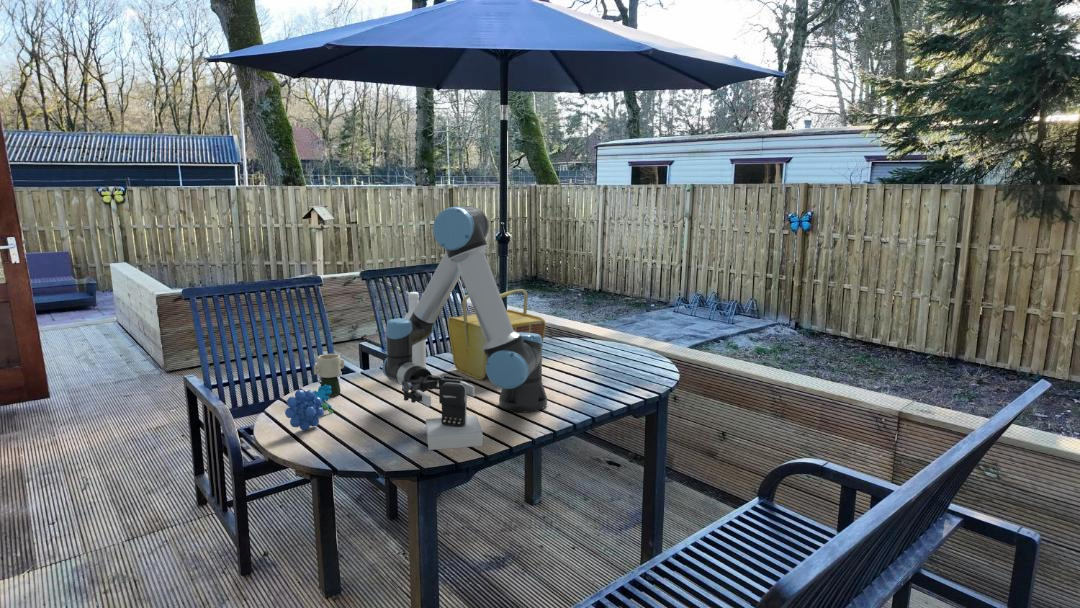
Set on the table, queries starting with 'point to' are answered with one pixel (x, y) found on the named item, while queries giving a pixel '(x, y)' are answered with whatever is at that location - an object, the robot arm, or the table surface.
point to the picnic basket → (471, 339)
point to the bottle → (420, 347)
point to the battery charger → (453, 404)
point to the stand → (453, 434)
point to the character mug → (329, 371)
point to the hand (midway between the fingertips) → (452, 396)
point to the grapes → (304, 409)
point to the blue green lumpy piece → (324, 396)
